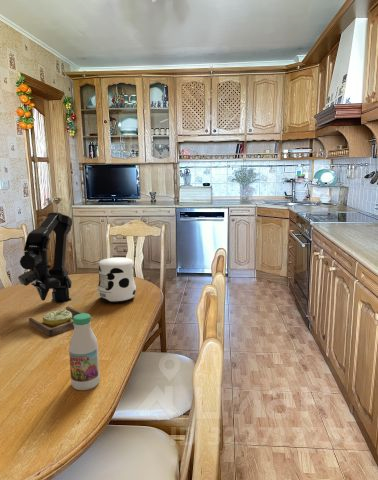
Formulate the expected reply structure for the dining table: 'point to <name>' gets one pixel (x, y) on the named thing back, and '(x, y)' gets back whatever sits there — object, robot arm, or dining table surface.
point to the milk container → (116, 280)
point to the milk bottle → (83, 354)
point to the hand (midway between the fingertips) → (43, 300)
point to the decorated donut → (57, 317)
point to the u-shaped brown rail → (54, 330)
